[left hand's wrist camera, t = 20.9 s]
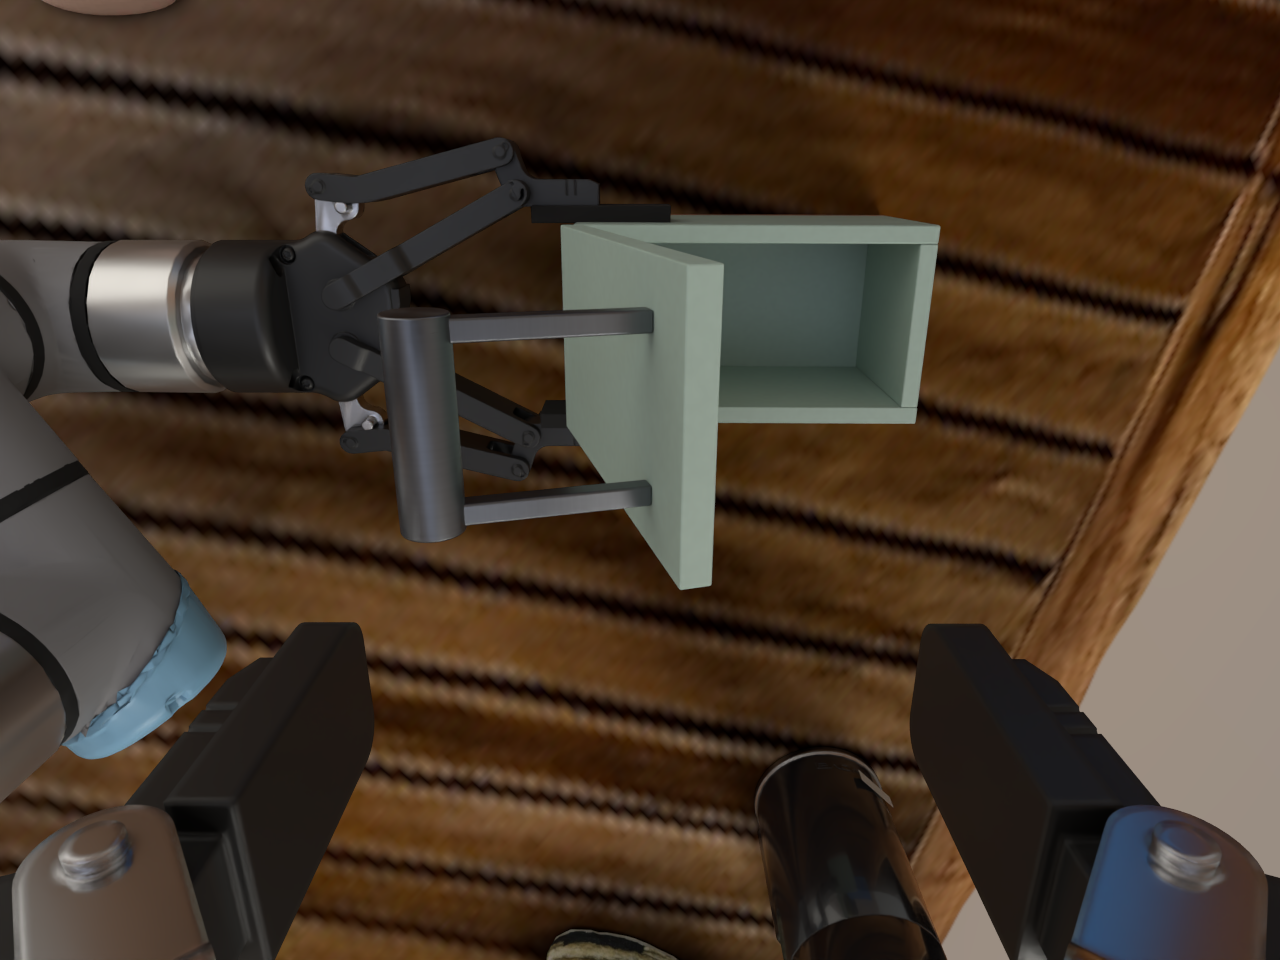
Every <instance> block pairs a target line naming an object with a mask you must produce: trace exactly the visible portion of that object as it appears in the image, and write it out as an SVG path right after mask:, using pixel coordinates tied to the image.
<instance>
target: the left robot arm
mask: <svg viewBox="0 0 1280 960" xmlns="http://www.w3.org/2000/svg"><path fill="white" fill-rule="evenodd" d="M373 735H374V711H373V704H372V696H371V689H370V682H369V675H368V668H367V661H366V654H365V646H364V639H363V634H362V631H361V628H360V627H359V625H358V624H357V623H354V622H304V623H301V624H299V625H298V626H297V627H296V628H295V630H294V631H293V632H292V634H291V635H290V636H289V638H288V639H287V640H286V642H285V643H284V644H283V645H282V647H281V648H280V649H279V651H278V652H277V653H276V655H275V656H274V657H273V658H259V659H257V660H256V661H254V662H253V663H251V664H250V665H248V666H247V667H245V668H244V669H242V670H241V671H239V672H238V673H236V674H235V675H233V676H232V677H230V678H229V679H227V681H226V682H225V683H224V684H223V685H222V687H221V688H220V689H219V690H218V692H217V693H216V694H215V695H214V696H213V698H212V699H211V700H210V701H209V703H208V704H207V705H206V710H202V711H201V712H200V714H199V715H198V716H197V717H196V718H195V720H194V721H193V722H192V723H191V725H190V726H189V731H188V732H184V733H183V734H182V736H181V737H180V738H179V739H178V740H177V742H176V743H175V744H174V745H173V747H172V748H171V749H170V750H169V751H168V753H167V754H166V755H165V756H164V758H163V759H162V760H161V761H160V762H159V764H158V765H157V766H156V767H155V769H154V770H153V771H152V772H151V773H150V775H149V776H148V777H147V778H146V780H145V781H144V782H143V783H142V784H141V786H140V787H139V788H138V789H137V791H136V792H135V793H134V794H133V795H132V797H131V798H130V799H129V800H128V802H127V803H126V804H125V805H124V806H119V807H114V808H109V809H105V810H102V811H99V812H96V813H93V814H90V815H88V816H85V817H83V818H80V819H78V820H76V821H74V822H72V823H70V824H68V825H66V826H65V827H63V828H61V829H60V830H58V831H57V832H55V833H53V834H52V835H50V836H49V837H48V838H47V839H45V840H44V841H43V842H41V843H40V844H39V845H38V846H37V847H36V848H35V849H34V850H33V851H31V852H30V854H29V855H28V856H27V857H26V858H25V859H24V861H23V862H22V863H21V865H20V867H19V868H18V870H17V871H16V873H13V874H10V875H5V876H1V877H0V960H275V958H276V956H277V954H278V952H279V950H280V947H281V945H282V943H283V941H284V939H285V937H286V934H287V932H288V930H289V928H290V926H291V924H292V922H293V919H294V917H295V915H296V913H297V911H298V909H299V907H300V904H301V902H302V900H303V898H304V896H305V894H306V892H307V889H308V887H309V885H310V883H311V881H312V879H313V876H314V874H315V872H316V870H317V868H318V866H319V864H320V861H321V859H322V857H323V855H324V853H325V851H326V849H327V846H328V844H329V842H330V840H331V838H332V836H333V833H334V831H335V829H336V827H337V825H338V823H339V821H340V818H341V816H342V814H343V812H344V810H345V808H346V806H347V803H348V801H349V799H350V797H351V795H352V793H353V791H354V788H355V786H356V784H357V782H358V780H359V778H360V775H361V773H362V771H363V769H364V767H365V765H366V763H367V760H368V758H369V755H370V751H371V747H372V742H373ZM910 736H911V743H912V749H913V753H914V756H915V759H916V762H917V764H918V766H919V768H920V770H921V772H922V775H923V777H924V779H925V781H926V783H927V785H928V787H929V789H930V792H931V794H932V796H933V798H934V800H935V802H936V804H937V806H938V809H939V811H940V813H941V815H942V817H943V819H944V821H945V823H946V826H947V828H948V830H949V832H950V834H951V836H952V838H953V840H954V842H955V845H956V847H957V849H958V851H959V853H960V855H961V857H962V859H963V862H964V864H965V866H966V868H967V870H968V872H969V874H970V876H971V879H972V881H973V883H974V885H975V887H976V889H977V891H978V893H979V896H980V898H981V900H982V902H983V904H984V906H985V908H986V910H987V912H988V915H989V917H990V919H991V921H992V923H993V925H994V927H995V930H996V932H997V934H998V936H999V938H1000V940H1001V942H1002V944H1003V946H1004V949H1005V951H1006V953H1007V955H1008V957H1009V959H1010V960H1280V878H1278V877H1274V876H1270V875H1266V874H1264V871H1263V870H1262V868H1261V867H1260V865H1259V863H1258V862H1257V861H1256V860H1255V858H1254V857H1253V856H1252V855H1251V854H1250V852H1249V851H1247V850H1246V849H1245V848H1244V847H1243V846H1242V845H1241V844H1240V843H1239V842H1237V841H1236V840H1235V839H1233V838H1232V837H1231V836H1230V835H1228V834H1227V833H1225V832H1223V831H1222V830H1220V829H1219V828H1217V827H1215V826H1213V825H1212V824H1210V823H1208V822H1206V821H1204V820H1202V819H1199V818H1197V817H1195V816H1192V815H1190V814H1187V813H1184V812H1181V811H1178V810H1174V809H1171V808H1166V807H1161V806H1160V804H1159V803H1158V802H1157V801H1156V800H1155V798H1154V797H1153V796H1152V795H1151V794H1150V792H1149V791H1148V790H1147V789H1146V788H1145V786H1144V785H1143V784H1142V783H1141V781H1140V780H1139V779H1138V778H1137V777H1136V775H1135V774H1134V773H1133V772H1132V770H1131V769H1130V768H1129V767H1128V766H1127V764H1126V763H1125V762H1124V761H1123V760H1122V758H1121V757H1120V756H1119V755H1118V754H1117V752H1116V751H1115V750H1114V749H1113V747H1112V746H1111V745H1110V744H1109V743H1108V741H1107V740H1106V739H1105V738H1104V737H1103V735H1102V734H1097V728H1096V727H1095V726H1094V724H1093V723H1092V722H1091V721H1090V720H1089V718H1088V717H1087V716H1086V715H1085V714H1084V712H1080V711H1079V706H1078V705H1077V704H1076V703H1075V701H1074V700H1073V699H1072V698H1071V697H1070V695H1069V694H1068V693H1067V692H1066V691H1065V689H1064V688H1063V687H1062V686H1061V684H1060V683H1059V682H1058V681H1057V680H1055V679H1054V678H1052V677H1051V676H1049V675H1048V674H1046V673H1045V672H1043V671H1042V670H1040V669H1039V668H1037V667H1036V666H1034V665H1033V664H1031V663H1030V662H1028V661H1027V660H1025V659H1011V658H1010V656H1009V655H1008V654H1007V652H1006V651H1005V650H1004V648H1003V647H1002V646H1001V645H1000V643H999V642H998V641H997V639H996V638H995V637H994V635H993V634H992V633H991V631H990V630H989V629H988V628H987V627H986V626H985V625H983V624H928V625H927V626H926V627H925V628H924V630H923V633H922V637H921V642H920V649H919V656H918V663H917V670H916V677H915V684H914V691H913V698H912V706H911V713H910ZM885 801H887V802H888V803H889V804H890V805H891V806H892V807H893V805H892V802H891V800H890V797H889V796H888V795H887V794H885V793H884V792H883V791H882V788H881V785H880V783H879V780H878V778H877V775H876V774H875V772H874V770H873V769H872V768H871V767H870V766H869V764H868V763H867V762H865V761H864V760H863V759H861V758H860V757H858V756H857V755H855V754H853V753H851V752H848V751H845V750H842V749H838V748H832V747H813V748H806V749H802V750H798V751H796V752H793V753H790V754H788V755H786V756H784V757H783V758H781V759H779V760H778V761H776V762H775V763H774V764H773V765H771V766H770V767H769V768H768V769H767V770H766V772H765V773H764V774H763V776H762V777H761V779H760V780H759V782H758V785H757V787H756V790H755V795H754V807H755V813H756V817H757V821H758V823H759V827H760V828H759V830H758V838H759V843H760V849H761V855H762V860H763V866H764V871H765V877H766V883H767V888H768V894H769V899H770V905H771V910H772V916H773V922H774V927H775V933H776V938H777V940H778V941H779V943H780V944H781V947H782V953H783V958H784V960H947V958H946V955H945V953H944V951H943V948H942V946H941V943H940V940H939V938H938V935H937V933H936V930H935V928H934V925H933V923H932V920H931V917H930V915H929V912H928V910H927V907H926V905H925V902H924V899H923V897H922V894H921V892H920V889H919V887H918V884H917V882H916V879H915V876H914V874H913V871H912V869H911V866H910V864H909V861H908V858H907V856H906V853H905V851H904V848H903V846H902V843H901V840H900V838H899V835H898V833H897V830H896V828H895V825H894V823H893V820H892V817H891V815H890V812H889V809H888V807H887V804H886V802H885Z"/></svg>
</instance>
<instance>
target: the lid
mask: <svg viewBox="0 0 1280 960" xmlns="http://www.w3.org/2000/svg"><path fill="white" fill-rule="evenodd" d="M561 253H562V287H563V310H556V311H531V312H507V313H482V314H458V315H450V312H449V311H448V310H445V309H441V308H431V307H410V308H398V309H390V310H386V311H382V312H380V313H378V314H377V325H378V333H379V342H380V351H381V360H382V369H383V378H384V387H385V396H386V405H387V414H388V423H389V432H390V441H391V450H392V459H393V468H394V477H395V486H396V495H397V504H398V513H399V522H400V531H401V534H402V536H403V537H404V538H406V539H408V540H410V541H414V542H421V543H433V542H441V541H446V540H449V539H452V538H455V537H457V536H459V535H461V534H462V533H463V532H464V531H465V530H466V527H467V525H475V524H484V523H494V522H503V521H512V520H521V519H531V518H540V517H549V516H559V515H568V514H577V513H587V512H596V511H605V510H614V509H624V510H625V511H626V513H627V514H628V515H629V517H630V518H631V520H632V521H633V523H634V524H635V526H636V527H637V529H638V530H639V531H640V533H641V534H642V536H643V537H644V539H645V540H646V542H647V543H648V544H649V546H650V547H651V549H652V550H653V552H654V553H655V555H656V556H657V558H658V559H659V560H660V562H661V563H662V565H663V566H664V568H665V569H666V571H667V572H668V573H669V575H670V576H671V578H672V579H673V581H674V582H675V584H676V585H677V586H678V588H679V589H680V590H683V589H690V588H698V587H705V586H710V585H711V583H712V558H713V533H714V507H715V482H716V456H717V431H718V406H719V380H720V355H721V329H722V304H723V279H724V264H723V263H720V262H717V261H713V260H709V259H706V258H702V257H698V256H695V255H691V254H687V253H684V252H680V251H676V250H673V249H669V248H665V247H662V246H658V245H654V244H651V243H647V242H643V241H640V240H636V239H633V238H629V237H625V236H622V235H618V234H614V233H611V232H607V231H603V230H600V229H596V228H592V227H589V226H585V225H561ZM550 338H564V354H565V387H566V420H567V427H568V429H569V430H570V431H571V433H572V434H573V436H574V437H575V439H576V440H577V442H578V443H579V445H580V446H581V447H582V449H583V450H584V452H585V453H586V455H587V456H588V458H589V459H590V460H591V462H592V463H593V465H594V466H595V468H596V469H597V471H598V472H599V473H600V475H601V476H602V478H603V479H604V481H605V482H606V483H605V484H595V485H585V486H575V487H565V488H554V489H544V490H534V491H524V492H514V493H504V494H494V495H483V496H473V497H465V495H464V483H463V470H462V458H461V445H460V432H459V420H458V407H457V394H456V382H455V369H454V357H453V344H452V343H470V342H490V341H510V340H530V339H550Z"/></svg>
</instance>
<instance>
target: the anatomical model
mask: <svg viewBox="0 0 1280 960" xmlns="http://www.w3.org/2000/svg"><path fill="white" fill-rule="evenodd" d="M42 1H44V2H46V3H48V4H51V5H53V6H55V7H58V8H61V9H64V10H68V11H73V12H78V13H82V14H92V15H130V14H141V13H146V12H152V11H156V10H159V9H163V8H165V7H167V6H169V5H171V4H173V3H174V2H175V1H176V0H42Z"/></svg>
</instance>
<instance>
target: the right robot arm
mask: <svg viewBox="0 0 1280 960" xmlns="http://www.w3.org/2000/svg"><path fill="white" fill-rule="evenodd" d="M491 171H496V173H497V176H498V178H499V181H500V183H501V186H500V187H498V188H497V189H495V190H493V191H492V192H490V193H488V194H486V195H485V196H483V197H481V198H479V199H478V200H476V201H474V202H473V203H471V204H469V205H467V206H466V207H464V208H462V209H461V210H459V211H457V212H455V213H454V214H452V215H450V216H448V217H447V218H445V219H443V220H442V221H440V222H438V223H436V224H435V225H433V226H431V227H429V228H428V229H426V230H424V231H423V232H421V233H419V234H417V235H416V236H414V237H412V238H411V239H409V240H407V241H405V242H404V243H402V244H400V245H398V246H396V247H394V248H392V249H390V250H388V251H387V252H385V253H383V254H381V255H380V256H377V255H375V254H374V253H372V252H371V251H370V250H368V249H367V248H365V247H364V246H362V245H361V244H359V243H358V242H357V241H355V240H354V239H352V238H351V237H349V236H348V235H346V234H345V233H343V227H344V225H345V223H346V222H347V221H349V220H351V219H356V218H359V217H360V216H361V215H362V214H363V212H364V207H365V206H364V203H367V202H377V201H383V200H388V199H392V198H396V197H399V196H403V195H407V194H410V193H414V192H418V191H421V190H425V189H429V188H432V187H436V186H440V185H443V184H447V183H451V182H454V181H458V180H462V179H465V178H469V177H473V176H476V175H480V174H484V173H487V172H491ZM305 188H306V191H307V193H308V194H309V196H311V197H312V198H313V199H315V216H316V232H313V233H311V234H310V235H308V236H307V237H305V238H303V239H301V240H220V241H217V242H215V243H213V244H210V243H208V242H205V241H203V240H120V241H104V242H81V241H39V240H0V803H1V802H2V801H3V800H4V799H5V798H6V797H7V796H8V795H9V794H10V793H11V792H13V791H14V790H15V789H16V788H17V787H18V786H19V785H20V784H21V783H22V782H23V781H25V780H26V779H27V778H28V777H29V776H30V775H31V774H32V773H33V772H34V771H35V770H36V769H38V768H39V767H40V766H41V765H42V764H43V763H44V762H45V761H46V760H47V759H48V758H50V757H51V756H52V755H53V754H54V753H55V752H56V751H57V750H58V748H59V746H60V745H63V746H67V747H68V748H69V749H70V750H71V751H73V752H74V753H75V754H76V755H78V756H80V757H82V758H86V759H98V758H104V757H107V756H110V755H112V754H114V753H117V752H119V751H121V750H123V749H125V748H126V747H128V746H130V745H132V744H133V743H135V742H137V741H138V740H140V739H141V738H143V737H144V736H146V735H147V734H149V733H150V732H152V731H153V730H154V729H156V728H157V727H159V726H160V725H161V724H162V723H164V722H165V721H166V720H168V719H169V718H170V717H172V715H173V714H174V713H175V712H176V711H177V710H178V709H179V708H180V707H181V706H183V705H184V704H185V703H187V702H188V701H190V700H191V699H193V698H194V697H195V696H196V695H197V694H198V693H199V692H200V691H201V690H202V689H203V688H204V687H205V686H206V685H207V684H208V683H209V682H210V681H211V679H212V678H213V677H214V676H215V674H216V673H217V672H218V670H219V668H220V667H221V665H222V663H223V661H224V658H225V656H226V650H227V645H226V639H225V636H224V634H223V632H222V631H221V629H220V628H219V627H218V625H217V624H216V622H215V621H214V620H213V618H212V617H211V616H210V614H209V613H208V611H207V610H206V609H205V607H204V606H203V605H202V603H201V602H200V600H199V599H198V598H197V596H196V595H195V594H194V592H193V591H192V589H191V588H190V587H189V584H188V582H187V580H186V579H185V578H184V577H183V576H182V575H181V573H179V572H178V571H176V570H174V569H172V568H171V566H170V565H169V564H168V563H167V562H166V561H165V560H164V559H163V557H162V556H161V555H160V554H159V553H158V552H157V551H156V549H155V548H154V547H153V546H152V545H151V544H150V543H149V542H148V540H147V539H146V538H145V537H144V536H143V535H142V534H141V532H140V531H139V530H138V529H137V528H136V527H135V526H134V525H133V523H132V522H131V521H130V520H129V519H128V518H127V517H126V516H125V514H124V513H123V512H122V511H121V510H120V509H119V508H118V506H117V505H116V504H115V503H114V502H113V501H112V500H111V499H110V497H109V496H108V495H107V494H106V493H105V492H104V491H103V489H102V488H101V487H100V486H99V485H98V484H97V483H96V482H95V480H94V479H93V478H92V477H91V476H90V475H89V473H88V471H87V470H86V469H85V468H84V467H83V466H82V464H81V463H80V462H79V460H78V459H77V458H76V457H75V456H74V454H73V453H72V452H71V451H70V450H69V449H68V447H67V446H66V445H65V444H64V443H63V442H62V440H61V439H60V438H59V437H58V436H57V435H56V433H55V432H54V431H53V430H52V429H51V428H50V426H49V425H48V424H47V423H46V422H45V421H44V419H43V418H42V417H41V416H40V415H39V414H38V413H37V411H36V410H35V409H34V408H33V407H32V406H31V404H30V403H29V402H30V401H32V400H35V399H38V398H41V397H43V396H47V395H52V394H58V393H69V392H123V391H124V392H198V393H217V392H220V391H224V390H225V389H226V388H227V389H229V390H230V391H233V392H314V393H319V394H322V395H325V396H327V397H329V398H331V399H333V400H336V401H339V404H340V409H341V413H342V417H343V421H344V425H345V429H346V432H345V433H344V434H343V435H342V436H341V438H340V445H341V447H342V448H343V449H344V450H345V451H346V452H348V453H365V452H375V451H385V450H386V451H390V452H392V450H391V441H390V432H389V423H388V415H387V412H386V411H385V410H384V409H383V408H381V407H379V406H373V405H370V404H369V403H367V402H366V401H365V399H364V397H363V394H364V393H365V392H367V391H368V390H369V389H370V388H372V387H373V386H374V385H376V384H377V383H378V382H379V381H381V382H383V383H384V378H383V369H382V360H381V351H380V342H379V333H378V325H377V314H378V313H380V312H382V311H386V310H390V309H398V308H410V302H411V294H410V284H406V282H405V280H404V278H403V276H404V275H406V274H408V273H410V272H411V271H413V270H415V269H417V268H418V267H420V266H422V265H423V264H425V263H426V262H428V261H430V260H432V259H433V258H435V257H437V256H439V255H440V254H442V253H444V252H446V251H447V250H449V249H451V248H453V247H454V246H456V245H458V244H460V243H461V242H463V241H465V240H467V239H468V238H470V237H472V236H474V235H475V234H477V233H479V232H481V231H482V230H484V229H486V228H488V227H489V226H491V225H493V224H495V223H496V222H498V221H500V220H502V219H503V218H505V217H507V216H509V215H510V214H512V213H514V212H516V211H517V210H519V209H521V208H523V207H524V206H531V218H532V223H576V222H654V223H671V206H670V205H669V204H600V183H597V182H595V181H592V180H590V179H537V178H535V177H533V176H531V175H530V174H529V173H528V171H527V170H526V168H525V165H524V162H523V160H522V157H521V155H520V149H519V147H518V145H517V144H516V143H515V142H514V141H511V140H508V139H505V138H493V139H490V140H486V141H482V142H479V143H475V144H472V145H468V146H464V147H461V148H457V149H454V150H450V151H446V152H443V153H439V154H435V155H432V156H428V157H425V158H421V159H417V160H414V161H410V162H406V163H403V164H399V165H396V166H392V167H388V168H385V169H381V170H377V171H374V172H370V173H367V174H363V175H359V176H358V175H349V174H340V173H313V174H311V175H309V176H308V177H307V179H306V182H305ZM455 382H456V394H457V407H458V415H459V416H461V417H463V418H465V419H467V420H469V421H471V422H473V423H475V424H477V425H479V426H481V427H483V428H485V429H487V430H489V431H491V432H493V433H496V434H498V435H500V436H502V437H504V438H506V439H508V440H510V441H512V442H509V441H505V440H501V439H497V438H492V437H488V436H484V435H480V434H476V433H471V432H467V431H463V430H459V432H460V445H461V458H462V468H463V469H467V470H472V471H476V472H480V473H484V474H489V475H493V476H497V477H502V478H506V479H510V480H514V481H521V480H524V479H525V478H526V477H527V476H528V474H529V471H530V469H531V466H532V464H533V461H534V458H535V455H536V452H537V451H538V450H539V449H540V448H542V447H545V446H580V445H579V443H578V442H577V440H576V439H575V437H574V436H573V434H572V433H571V431H570V430H569V429H568V427H567V420H566V400H546V401H545V404H544V406H543V409H542V411H540V413H539V414H537V413H535V412H533V411H531V410H529V409H527V408H525V407H523V406H521V405H519V404H517V403H514V402H512V401H510V400H508V399H506V398H504V397H502V396H500V395H498V394H496V393H494V392H492V391H490V390H488V389H486V388H484V387H482V386H480V385H478V384H476V383H474V382H472V381H470V380H468V379H466V378H464V377H462V376H460V375H458V374H456V373H455Z"/></svg>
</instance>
